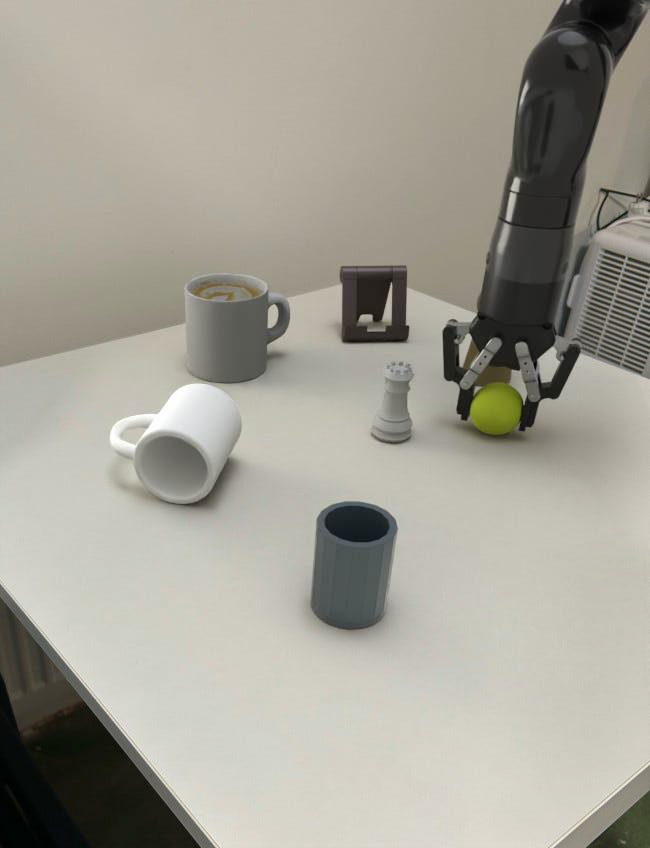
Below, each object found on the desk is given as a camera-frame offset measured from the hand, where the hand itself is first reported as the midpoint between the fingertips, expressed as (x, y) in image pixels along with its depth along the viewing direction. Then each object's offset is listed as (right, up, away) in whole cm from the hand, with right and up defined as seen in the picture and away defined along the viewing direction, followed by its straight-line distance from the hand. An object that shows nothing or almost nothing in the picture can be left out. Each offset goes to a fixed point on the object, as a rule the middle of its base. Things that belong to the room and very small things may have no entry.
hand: (493, 422), depth 89 cm
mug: (-34, -6, -7) cm, 36 cm away
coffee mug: (-28, +9, +14) cm, 32 cm away
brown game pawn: (+3, +7, +12) cm, 14 cm away
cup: (-19, -18, -23) cm, 35 cm away
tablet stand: (-10, +16, +23) cm, 30 cm away
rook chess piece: (-11, -1, 0) cm, 11 cm away
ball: (0, +1, -1) cm, 2 cm away
